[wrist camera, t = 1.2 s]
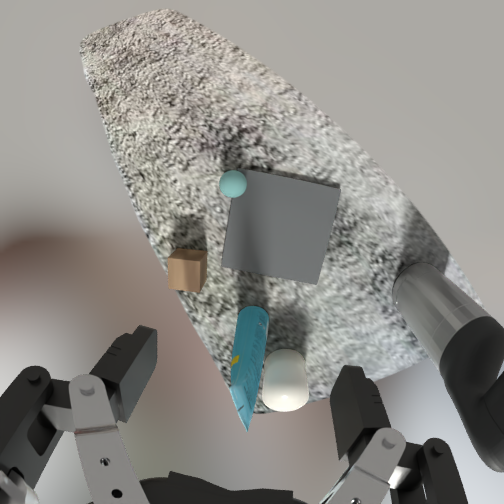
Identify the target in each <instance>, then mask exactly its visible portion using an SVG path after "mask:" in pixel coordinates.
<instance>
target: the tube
mask: <svg viewBox="0 0 504 504" xmlns="http://www.w3.org/2000/svg"><path fill="white" fill-rule="evenodd" d="M268 326H269V316H268V314H267V312H266V311H265V310H264V309H262V308H260V307H258V306H248V307H245V308H244V309H242V310H241V311H240V313H239V315H238V319H237V325H236V332H235V338H234V346H233V353H232V362H231V383H232V385H231V386H230V388H229V389H230V393H231V396H232V398H233V401H234V404H235V406H236V409H237V412H238V414H239V417H240V419H241V421H242V423H243V425H244V426H245V429H246V432H248V428H249V424H250V421H251V418H252V414H253V411H254V406H255V402H256V397H257V392H258V388H259V382H260V377H261V371H262V366H263V360H264V354H265V347H266V341H267V334H268Z"/></svg>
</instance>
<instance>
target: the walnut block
mask: <svg viewBox="0 0 504 504" xmlns="http://www.w3.org/2000/svg"><path fill="white" fill-rule="evenodd" d="M206 280H207V251H202V250H192V249H183V248H177V249H176V250H175V251H174V252H173V253H172V254H171V255H170V256H169V257H168V287H169V288H170V289H177V290H184V291H191V292H199V293H200V291H201V289H202V287H203V285H204V284H205V282H206Z"/></svg>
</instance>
